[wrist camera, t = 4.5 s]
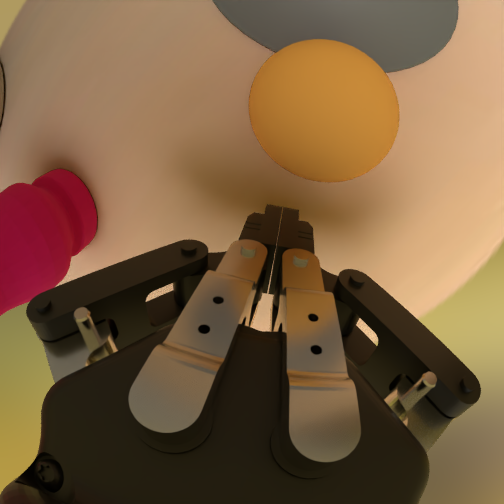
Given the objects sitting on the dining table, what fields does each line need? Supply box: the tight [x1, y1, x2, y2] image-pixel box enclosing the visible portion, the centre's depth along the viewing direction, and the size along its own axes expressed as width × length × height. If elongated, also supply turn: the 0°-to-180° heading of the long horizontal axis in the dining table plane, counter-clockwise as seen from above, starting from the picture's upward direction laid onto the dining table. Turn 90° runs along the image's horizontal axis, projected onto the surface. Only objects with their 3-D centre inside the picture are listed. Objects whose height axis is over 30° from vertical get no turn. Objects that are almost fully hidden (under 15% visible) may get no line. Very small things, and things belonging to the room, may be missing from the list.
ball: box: [249, 39, 399, 182], centre depth 9 cm, size 6×6×6 cm
